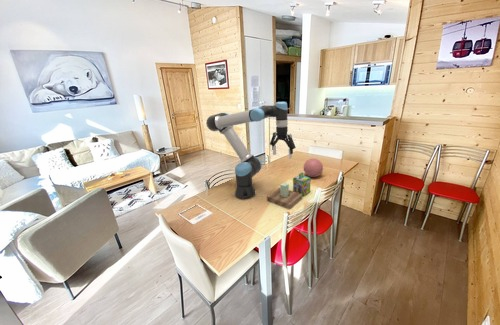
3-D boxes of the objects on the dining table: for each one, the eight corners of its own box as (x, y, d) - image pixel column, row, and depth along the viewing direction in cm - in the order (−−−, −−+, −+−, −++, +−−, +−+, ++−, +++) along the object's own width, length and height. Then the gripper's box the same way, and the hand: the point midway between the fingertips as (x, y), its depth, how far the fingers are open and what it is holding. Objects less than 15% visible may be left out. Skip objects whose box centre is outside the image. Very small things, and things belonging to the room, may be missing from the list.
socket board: (267, 200, 146) (267, 196, 144) (280, 191, 157) (280, 187, 155) (289, 209, 134) (289, 204, 133) (302, 198, 145) (302, 194, 144)
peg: (280, 200, 145) (280, 184, 141) (283, 197, 148) (283, 182, 144) (285, 202, 143) (285, 186, 138) (288, 199, 145) (288, 183, 141)
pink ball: (328, 173, 180) (329, 156, 175) (316, 181, 167) (317, 163, 162) (312, 169, 191) (312, 153, 185) (299, 177, 178) (300, 159, 173)
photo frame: (193, 224, 126) (177, 213, 138) (193, 225, 126) (178, 214, 138) (212, 212, 135) (196, 203, 147) (212, 214, 136) (197, 205, 148)
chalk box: (303, 196, 147) (303, 177, 142) (292, 192, 154) (292, 174, 149) (310, 191, 153) (311, 173, 148) (300, 188, 160) (300, 170, 154)
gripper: (263, 125, 145) (265, 154, 153) (294, 129, 128) (294, 161, 136) (271, 123, 150) (271, 152, 158) (301, 126, 133) (300, 158, 141)
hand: (282, 156), depth 147 cm, fingers open, 13 cm apart
